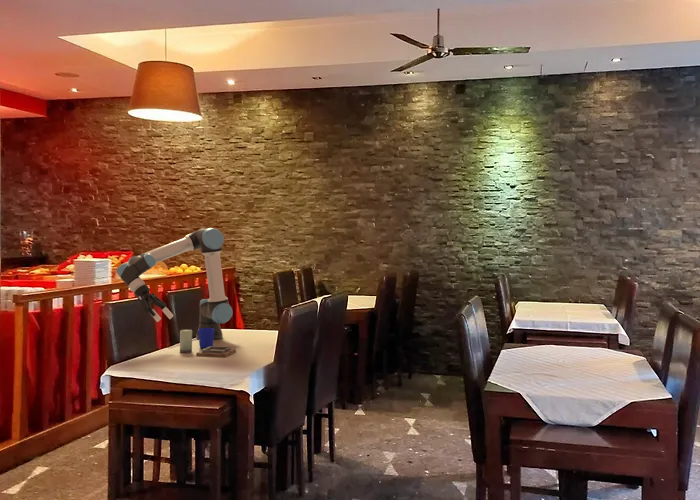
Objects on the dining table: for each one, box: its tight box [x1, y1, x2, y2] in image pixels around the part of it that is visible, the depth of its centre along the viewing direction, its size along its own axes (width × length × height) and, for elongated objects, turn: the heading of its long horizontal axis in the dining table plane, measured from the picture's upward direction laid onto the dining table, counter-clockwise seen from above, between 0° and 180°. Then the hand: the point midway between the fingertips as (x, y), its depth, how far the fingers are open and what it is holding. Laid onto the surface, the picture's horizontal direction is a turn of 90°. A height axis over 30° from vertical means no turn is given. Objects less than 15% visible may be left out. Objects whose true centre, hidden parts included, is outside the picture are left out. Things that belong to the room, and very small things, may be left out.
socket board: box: [195, 345, 237, 358], centre depth 307 cm, size 15×15×3 cm
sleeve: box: [179, 329, 193, 354], centre depth 312 cm, size 6×6×11 cm
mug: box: [198, 328, 214, 349], centre depth 327 cm, size 8×12×10 cm
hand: (165, 319), depth 314 cm, fingers open, 13 cm apart
